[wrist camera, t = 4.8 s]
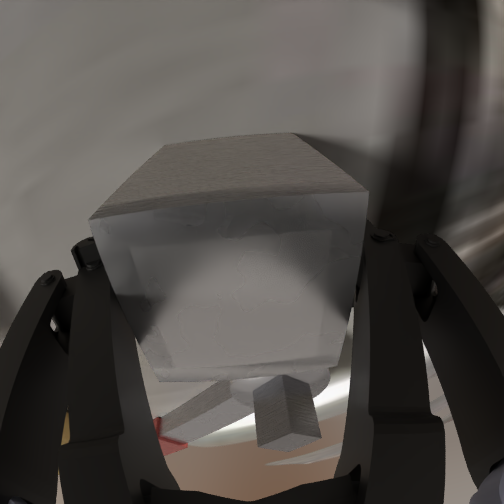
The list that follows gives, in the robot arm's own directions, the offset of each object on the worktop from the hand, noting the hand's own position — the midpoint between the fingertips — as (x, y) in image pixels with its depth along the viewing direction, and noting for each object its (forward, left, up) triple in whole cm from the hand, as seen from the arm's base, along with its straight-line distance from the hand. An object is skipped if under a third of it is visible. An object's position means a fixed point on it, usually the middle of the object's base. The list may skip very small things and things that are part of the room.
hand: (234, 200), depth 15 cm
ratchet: (+23, +2, 0) cm, 23 cm away
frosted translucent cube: (0, 0, 0) cm, 0 cm away
